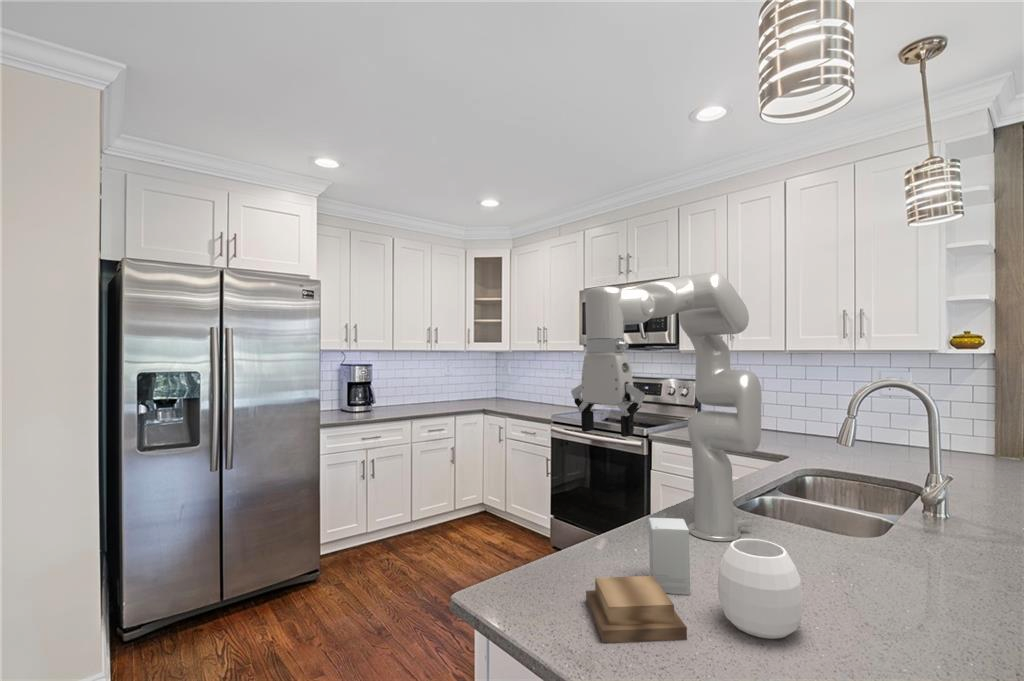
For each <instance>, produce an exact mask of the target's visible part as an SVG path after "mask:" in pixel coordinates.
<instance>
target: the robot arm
mask: <svg viewBox="0 0 1024 681" xmlns="http://www.w3.org/2000/svg"><path fill="white" fill-rule="evenodd" d="M584 299H585V300H584V302H585V337H586V338H585V339H586V344H585V347H586V355H584V357H583V364H582V369H581V370H582V371H581V383H580V384H579V385H578V386H576V387H574V388H573V389H572V390H570V392H571V395H572V397H573V400H574V404H575V405H576V407H577V408H578V412H579V413H580V414H581V415H580V419H581V420H580V421H581V432H583V433H585V432H591V431H593V430H594V429H595V428H594V426H595V425H594V422H595V420H594V418H595V417H594V411H593V410H592V409H593V407H594V406H595V405H600V406H617V408H618V409H619V410H620V412H621V413H622V415H621V416H620V436H621V437H623V438H626V437H630V436H633V435H634V430H635V422H634V420H635V418H634V416H635V415H636V414H637V412H638V411H639V410H640V409H641V408H642V404H643V402H644V399H645V397H646V394H645V393H644V392H643V391H642V390H640V389H638V388H637V387H635V386H634V381H633V372H632V368H631V367H632V366H631V362H630V358H629V355H628V354H625V350H628V349H629V343H628V342H627V341H625V339H624V338H625V334H624V330H625V329H624V328H625V327H624V326H625V325H640V324H644V323H645V322H648V321H649V320H650V319H656V318H665V317H668V316H672V315H675V314H678V320H679V321H678V322H679V325H680V328H681V329H682V331H683V332H684V333H685V335H686V336H687V337H688V339H689V340H690V343H691V344H692V346H693V349H694V352H695V353H694V354H695V377H694V378H695V382H694V383H695V384H694V385H695V386H694V387H695V388H694V390H695V391H694V392H695V398H696V399H697V401H698V402H699V403H700V404H701V405H702V404H703V405H705V406H709V407H710V406H712V407H723V408H724V407H725V408H735V409H736V412H726V411H715V410H702V411H697V412H695V413H693V414H692V415H691V416H690V418H689V420H688V422H687V431H688V437H689V442H690V446H691V455H692V477H693V479H692V481H693V482H692V483H693V512H694V513H693V514H694V516H693V518H694V521H692V522H691V523H690V524H688V526H687V527H688V529H689V534H691V535H693V536H694V537H695V538H696V537H697V538H700V539H703V540H706V541H707V540H708V541H714V542H733V541H735V540H738V539H740V537H741V530H740V529H741V527H745V528H747V527H748V528H749V527H753V526H754V525H753V524H754V523H753V520H752V519H751V518H743V517H742V516H735V515H734V494H733V493H734V488H733V466H732V462H731V461H730V459H729V456H728V455H727V453H726V452H725V450H726V451H733V452H740V453H753V452H755V451H756V450H757V449H758V448H759V447H760V443H761V439H762V438H761V437H762V400H763V399H762V386H761V383H760V380H759V378H758V376H757V375H756V374H755V373H754V372H752V371H749V370H745V369H744V370H742V369H741V370H740V369H738V370H737V369H731V352H730V348H729V346H728V345H727V343H726V342H725V341H724V340H723V338H722V337H721V336H726V335H738V334H741V333H743V332H744V331H745V330H746V329H747V327H748V325H749V321H750V319H749V318H750V315H749V311H748V308H747V306H746V304H745V302H744V301H743V299H742V297H741V296H740V294H739V293H738V292H737V291H736V289H735V287H734V286H733V284H731V282H730V281H729V280H728V279H727V278H726V277H725V276H724V275H722V274H721V273H719V272H715V271H714V272H706V273H698V274H690V275H682V276H678V277H677V276H676V277H672V278H666V279H660V280H655V281H650V282H645V283H641V284H638V285H634V286H629V287H622V288H619V287H617V286H596V287H591V288H589V289H587V290H586V292H585V298H584Z"/></svg>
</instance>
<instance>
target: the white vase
mask: <svg viewBox="0 0 1024 681" xmlns="http://www.w3.org/2000/svg"><path fill="white" fill-rule="evenodd" d="M717 575H718V576H717V593H718V594H717V595H718V596H717V597H718V600H719V603H720V605H721V608H722V611H723V613H724V615H725V616H724V617H726V619H728V621H730V623H731V624H732V625H734V626H735V627H736V628H737V629H738V630H740V631H741V632H744V633H746V634H748V635H751V636H755V637H757V638H762V639H771V640H774V639H776V640H777V639H783V638H785V637H786V636H789V635H790V634H792V633H793V632H796V631H797V630H798V628H799V626H800V623H801V621H802V619H803V618H802V617H803V613H804V594H803V585H802V579H801V577H800V575H799V572H798V569H797V567H796V564H795V563H794V562H793V560H792V558H791V556H790V555H789V553H788V552H787V550H786V549H785V548H784V547H783V546H781V545H779V544H777V543H774V542H771V541H769V540H764V539H760V538H759V539H758V538H738V539H736V540H733V541H731V543H730V544H729V546H728V547H727V550H726V551H725V552H724V554H723V556H722V558H721V562H720V564H719V566H718V574H717Z"/></svg>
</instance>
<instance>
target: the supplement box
mask: <svg viewBox="0 0 1024 681" xmlns="http://www.w3.org/2000/svg"><path fill="white" fill-rule="evenodd" d="M648 545H649V546H648V552H649V576H653V577H654V578H655V580H656V581H657V582H658V584H659V585H660V586H661V588H662V589H663V591H664V592H665V593H666V594H667V595H668V594H670V595H683V596H690V595H691V559H690V532H689V529H688V526H687V523H686V521H685V519H684V518H671V517H670V518H668V517H666V518H665V517H648Z"/></svg>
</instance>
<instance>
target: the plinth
mask: <svg viewBox="0 0 1024 681" xmlns="http://www.w3.org/2000/svg"><path fill="white" fill-rule="evenodd" d="M594 581H595V582H594V584H595V586H594V588H595V589H592V590H591V589H590V590H585V599H586V604H587V606H588V608H589V612H590V614H591V617H592V620H593V622H594V624H595V627H596V630H597V632H598V634H599V637H600V640H601V643H602V644H613V643H614V644H615V643H635V642H636V643H637V642H638V643H639V642H658V641H659V642H661V641H680V640H682V641H684V640H688V633H687V630H688V629H687V626H686V624H685V623H684V621H683V620H682V619H681V617H680V616H679V615H678V613H677V612H676V611H675V604H674V603H673V601H671V599H670V597H669V596H668V594H667V593H665V592H664V591H663V589H662V588H661V586H660V585H659V584H658V582H657V581H656V580H655V578H654V577H653V576H650V575H643V576H642V575H640V576H636V575H635V576H614V577H612V576H611V577H609V576H607V577H595V578H594Z"/></svg>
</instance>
